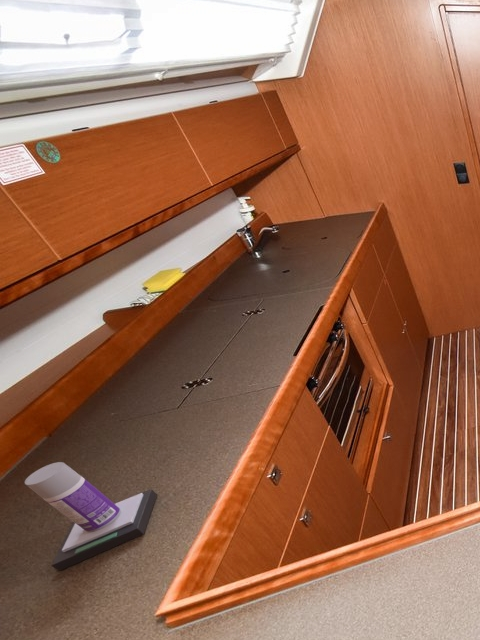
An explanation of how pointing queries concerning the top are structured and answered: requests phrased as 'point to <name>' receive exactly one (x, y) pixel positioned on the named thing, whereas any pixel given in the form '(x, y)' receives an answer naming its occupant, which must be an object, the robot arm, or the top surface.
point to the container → (73, 496)
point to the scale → (106, 531)
